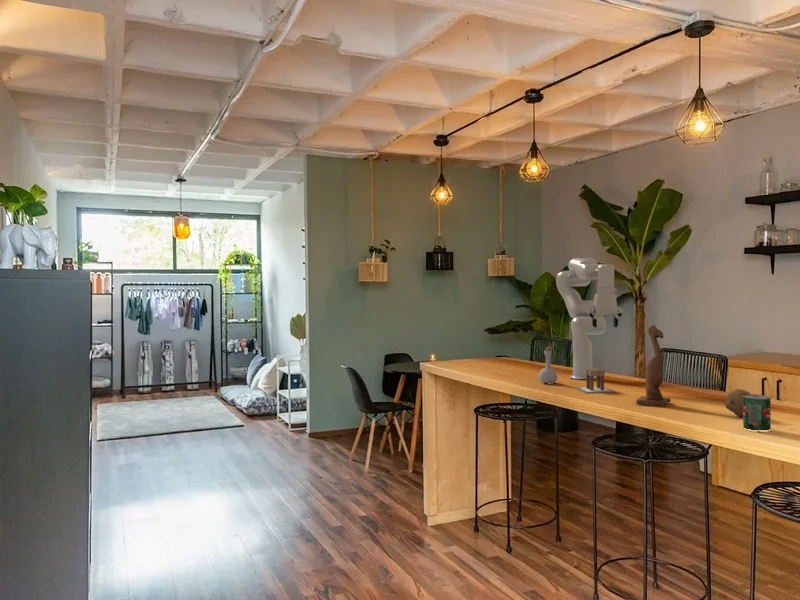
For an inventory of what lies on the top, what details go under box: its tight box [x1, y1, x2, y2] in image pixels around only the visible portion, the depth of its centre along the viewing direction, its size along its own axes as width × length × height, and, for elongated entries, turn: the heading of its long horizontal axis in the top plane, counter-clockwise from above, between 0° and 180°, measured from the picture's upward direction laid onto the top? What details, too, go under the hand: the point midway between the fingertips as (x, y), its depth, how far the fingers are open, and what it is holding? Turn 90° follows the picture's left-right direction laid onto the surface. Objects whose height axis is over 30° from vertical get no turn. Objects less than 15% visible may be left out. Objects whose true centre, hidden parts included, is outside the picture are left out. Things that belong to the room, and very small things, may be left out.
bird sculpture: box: [635, 324, 672, 408], centre depth 254 cm, size 11×12×32 cm
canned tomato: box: [742, 393, 772, 430], centre depth 208 cm, size 8×8×11 cm
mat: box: [574, 386, 617, 394], centre depth 288 cm, size 14×14×1 cm
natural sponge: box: [724, 388, 751, 417], centre depth 228 cm, size 9×9×10 cm
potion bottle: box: [538, 346, 558, 385], centre depth 310 cm, size 9×9×18 cm
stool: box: [585, 368, 606, 390], centre depth 288 cm, size 6×6×9 cm
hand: (605, 327), depth 299 cm, fingers open, 9 cm apart
